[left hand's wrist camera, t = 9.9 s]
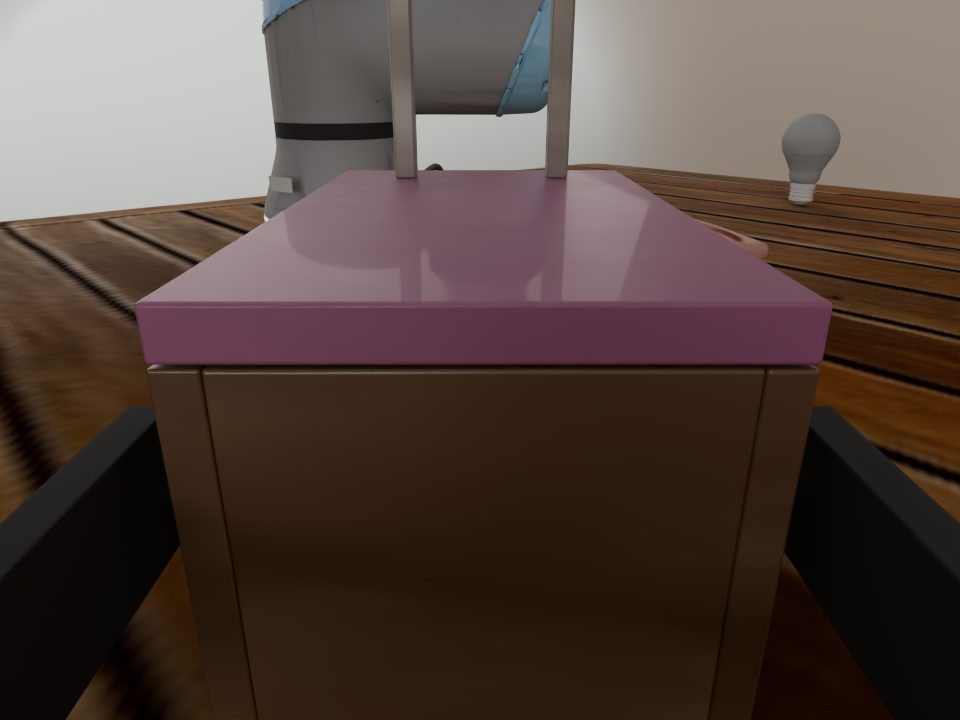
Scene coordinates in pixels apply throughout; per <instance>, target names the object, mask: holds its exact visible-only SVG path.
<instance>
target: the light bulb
mask: <svg viewBox="0 0 960 720" xmlns="http://www.w3.org/2000/svg"><path fill="white" fill-rule="evenodd" d="M839 144H840V132H839V129H838V127H837V125H836V124H835V122H834V121H833V120H832V119H831V118H829V117H827V116H825V115H822V114H816V113H815V114H808V115H804V116H802V117H799V118H798V119H796V120H795V121H794V122H793V123H792V124H791V125H790V126H789V127H788V128H787V130H786V131H785V133H784V135H783V139H782V150H783V153H784V156H785V159H786V161H787V164H788V167H789V178H790V181H791V186H790V187H791V188H792V189H790V191H791V192H790V193H789V194H791V196H789V198H788V199H789V200H791V201H792V202H794V203H795V204H806V203H809V202H811V201H813V199H812V197H814V196H812V194H813V193H814V192H813V190H815V185H816V183H817V182H818V180H819V179H820V176H821V173H822V170H823V169H824V168H825V166H826V165H827V163H828V162H829V161H830V160H831V158H832V157H833V156H834V154H835V153H836V151H837V149H838V147H839Z"/></svg>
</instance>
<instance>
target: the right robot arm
mask: <svg viewBox="0 0 960 720" xmlns="http://www.w3.org/2000/svg"><path fill="white" fill-rule="evenodd" d="M262 1H263V18H264V22H263V25H262V32H263V34H264V35H265V44H266V53H267V62H268V71H269V80H270V89H271V98H272V107H273V116H274V124H275V134H276V145H277V147H276V155H275V160H274V165H273V170H272V174H271V176H269V181H270V184H269V189H268V193H267V198H266V203H265V213H264V219H265V222H266V221H268V220H269V219H271V218H273V217H274V216H276V215H277V214H279V213H281V212H282V211H284V210H285V209H287V208H289V207H290V206H292V205H293V204H295V203H297V202H298V201H300V200H301V199H303V198H305V197H306V196H308V195H309V194H311V193H313V192H314V191H316V190H317V189H319V188H321V187H322V186H324V185H325V184H327V183H329V182H330V181H332V180H333V179H335V178H337V177H338V176H340V175H341V174H343V173H345V172H346V171H348V170H395V153H394V131H393V108H392V86H391V63H390V41H389V18H388V0H262ZM550 16H551V0H412V18H413V48H414V79H415V109H416V114H486V115H487V114H488V115H491V114H492V115H496V116H498V117H501V116H502V115H503V114H522V113H534V112H538V111H540V110H541V109H543V108H544V107H545V106H546V105H547V103H548V75H549V45H550ZM425 170H443V169H442V167H441V166H440V165H439V164H432V165H430V166H429V167H427V168H426V169H425Z"/></svg>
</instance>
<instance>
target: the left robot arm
mask: <svg viewBox="0 0 960 720" xmlns="http://www.w3.org/2000/svg"><path fill="white" fill-rule="evenodd" d="M179 546H180V542H179V536H178V531H177V526H176V521H175V516H174V511H173V506H172V501H171V496H170V490H169V485H168V480H167V475H166V470H165V465H164V460H163V455H162V449H161V444H160V439H159V434H158V429H157V424H156V419H155V414H154V409H153V406H129V407H128V408H127V409H126V410H125V411H123V412H122V413H121V414H120V415H119V416H118V417H117V418H116V419H115V420H114V421H113V422H111V423H110V424H109V425H108V426H107V427H106V428H105V429H104V430H103V431H102V432H100V433H99V434H98V435H97V436H96V437H95V438H94V439H93V440H92V441H91V442H89V443H88V444H87V445H86V446H85V447H84V448H83V449H82V450H81V451H80V452H79V453H77V454H76V455H75V456H74V457H73V458H72V459H71V460H70V461H69V462H68V463H66V464H65V465H64V466H63V467H62V468H61V469H60V470H59V471H58V472H57V473H55V474H54V475H53V476H52V477H51V478H50V479H49V480H48V481H47V482H46V483H45V484H43V485H42V486H41V487H40V488H39V489H38V490H37V491H36V492H35V493H34V494H32V495H31V496H30V497H29V498H28V499H27V500H26V501H25V502H24V503H23V504H21V505H20V506H19V507H18V508H17V509H16V510H15V511H14V512H13V513H12V514H11V515H9V516H8V517H7V518H6V519H5V520H4V521H3V522H2V523H1V524H0V720H66V718H67V717H68V715H69V714H70V712H71V711H72V709H73V707H74V706H75V704H76V703H77V701H78V700H79V698H80V697H81V695H82V694H83V692H84V691H85V689H86V688H87V686H88V685H89V683H90V682H91V680H92V678H93V677H94V675H95V674H96V672H97V671H98V669H99V668H100V666H101V665H102V663H103V662H104V660H105V659H106V657H107V656H108V654H109V652H110V651H111V649H112V648H113V646H114V645H115V643H116V642H117V640H118V639H119V637H120V636H121V634H122V633H123V631H124V630H125V628H126V627H127V625H128V623H129V622H130V620H131V619H132V617H133V616H134V614H135V613H136V611H137V610H138V608H139V607H140V605H141V604H142V602H143V601H144V599H145V597H146V596H147V594H148V593H149V591H150V590H151V588H152V587H153V585H154V584H155V582H156V581H157V579H158V578H159V576H160V575H161V573H162V572H163V570H164V568H165V567H166V565H167V564H168V562H169V561H170V559H171V558H172V556H173V555H174V553H175V552H176V550H177V549H178V547H179ZM784 552H785V553H786V555H787V556H788V558H789V559H790V561H791V562H792V564H793V565H794V567H795V568H796V570H797V571H798V573H799V575H800V576H801V578H802V579H803V581H804V582H805V584H806V585H807V587H808V588H809V590H810V591H811V593H812V594H813V596H814V597H815V599H816V601H817V602H818V604H819V605H820V607H821V608H822V610H823V611H824V613H825V614H826V616H827V617H828V619H829V620H830V622H831V623H832V625H833V626H834V628H835V630H836V631H837V633H838V634H839V636H840V637H841V639H842V640H843V642H844V643H845V645H846V646H847V648H848V649H849V651H850V652H851V654H852V656H853V657H854V659H855V660H856V662H857V663H858V665H859V666H860V668H861V669H862V671H863V672H864V674H865V675H866V677H867V678H868V680H869V681H870V683H871V685H872V686H873V688H874V689H875V691H876V692H877V694H878V695H879V697H880V698H881V700H882V701H883V703H884V704H885V706H886V707H887V709H888V711H889V712H890V714H891V715H892V717H893V718H894V720H960V524H959V523H958V522H957V521H956V520H955V519H954V518H953V517H952V516H951V515H950V514H948V513H947V512H946V511H945V510H944V509H943V508H942V507H941V506H940V505H939V504H937V503H936V502H935V501H934V500H933V499H932V498H931V497H930V496H929V495H928V494H926V493H925V492H924V491H923V490H922V489H921V488H920V487H919V486H918V485H917V484H916V483H914V482H913V481H912V480H911V479H910V478H909V477H908V476H907V475H906V474H905V473H903V472H902V471H901V470H900V469H899V468H898V467H897V466H896V465H895V464H894V463H892V462H891V461H890V460H889V459H888V458H887V457H886V456H885V455H884V454H883V453H881V452H880V451H879V450H878V449H877V448H876V447H875V446H874V445H873V444H872V443H871V442H869V441H868V440H867V439H866V438H865V437H864V436H863V435H862V434H861V433H860V432H858V431H857V430H856V429H855V428H854V427H853V426H852V425H851V424H850V423H849V422H847V421H846V420H845V419H844V418H843V417H842V416H841V415H840V414H839V413H838V412H837V411H835V410H834V409H833V408H832V407H831V406H813V409H812V414H811V419H810V424H809V429H808V434H807V439H806V444H805V449H804V454H803V460H802V465H801V470H800V475H799V480H798V485H797V490H796V495H795V500H794V505H793V510H792V515H791V520H790V525H789V530H788V535H787V540H786V545H785V550H784Z"/></svg>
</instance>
